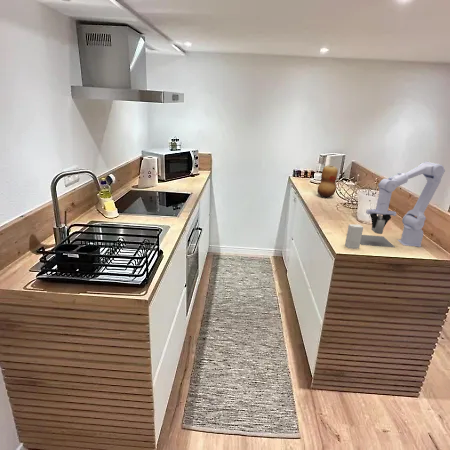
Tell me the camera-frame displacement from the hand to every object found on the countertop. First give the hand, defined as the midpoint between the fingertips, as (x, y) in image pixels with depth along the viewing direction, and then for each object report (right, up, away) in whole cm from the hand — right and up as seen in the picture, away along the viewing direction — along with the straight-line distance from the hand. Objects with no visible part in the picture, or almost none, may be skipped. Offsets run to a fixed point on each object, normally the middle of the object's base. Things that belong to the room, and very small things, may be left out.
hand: (377, 227), depth 181 cm
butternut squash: (+1, +24, +97) cm, 99 cm away
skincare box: (-15, -10, -3) cm, 18 cm away
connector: (0, -2, +1) cm, 2 cm away
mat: (+1, -7, +8) cm, 11 cm away
